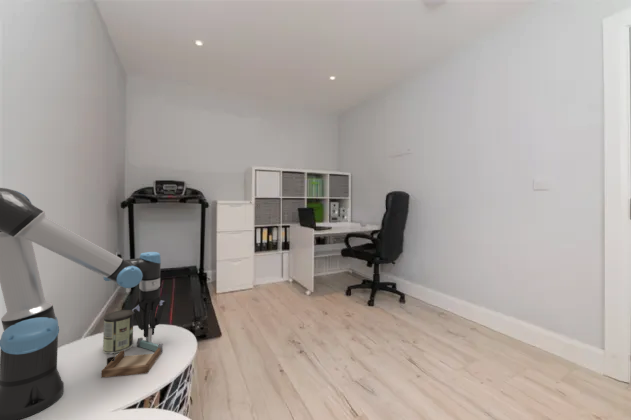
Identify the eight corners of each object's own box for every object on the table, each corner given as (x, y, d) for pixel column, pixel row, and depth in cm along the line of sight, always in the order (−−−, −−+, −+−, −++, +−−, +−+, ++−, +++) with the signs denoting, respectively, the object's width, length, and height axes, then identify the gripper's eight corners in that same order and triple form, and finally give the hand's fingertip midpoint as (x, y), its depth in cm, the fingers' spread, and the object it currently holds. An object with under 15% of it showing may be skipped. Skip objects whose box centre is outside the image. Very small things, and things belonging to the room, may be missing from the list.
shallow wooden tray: (101, 377, 90) (101, 370, 90) (120, 357, 103) (121, 350, 103) (147, 373, 93) (147, 366, 93) (160, 353, 106) (161, 347, 106)
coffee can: (118, 340, 116) (120, 308, 116) (138, 343, 114) (139, 310, 114) (95, 352, 106) (96, 317, 106) (117, 355, 104) (118, 320, 104)
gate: (136, 346, 111) (136, 338, 111) (140, 344, 112) (140, 336, 112) (159, 353, 105) (159, 345, 106) (163, 351, 107) (163, 343, 107)
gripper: (136, 294, 104) (135, 352, 104) (169, 286, 114) (168, 340, 114) (129, 290, 108) (127, 346, 108) (161, 283, 119) (160, 335, 119)
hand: (148, 343), depth 111 cm, fingers closed
